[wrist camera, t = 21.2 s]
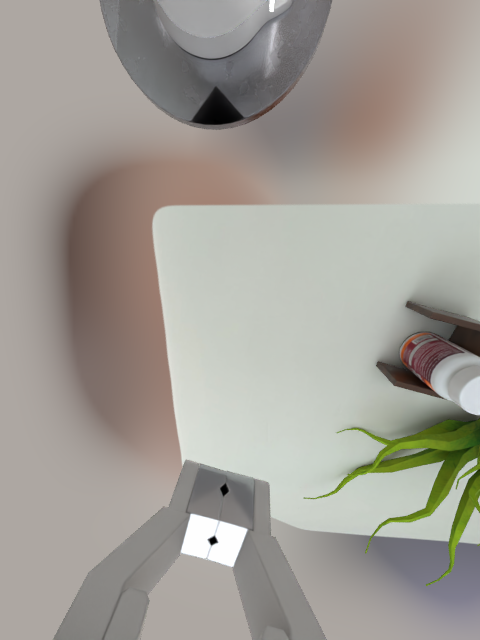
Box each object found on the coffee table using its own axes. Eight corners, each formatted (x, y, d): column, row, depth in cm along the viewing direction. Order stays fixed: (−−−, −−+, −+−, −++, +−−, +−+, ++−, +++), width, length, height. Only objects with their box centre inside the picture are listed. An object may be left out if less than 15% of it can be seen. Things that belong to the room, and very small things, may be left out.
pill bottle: (391, 363, 37) (443, 413, 27) (407, 326, 35) (470, 364, 25) (431, 372, 37) (500, 425, 26) (450, 335, 35) (532, 376, 25)
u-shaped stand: (407, 301, 34) (433, 311, 29) (468, 317, 34) (505, 331, 29) (375, 365, 38) (393, 385, 32) (431, 380, 38) (458, 402, 32)
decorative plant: (298, 409, 41) (316, 494, 28) (493, 404, 38) (627, 499, 24) (301, 488, 47) (317, 593, 33) (472, 490, 43) (572, 609, 29)
